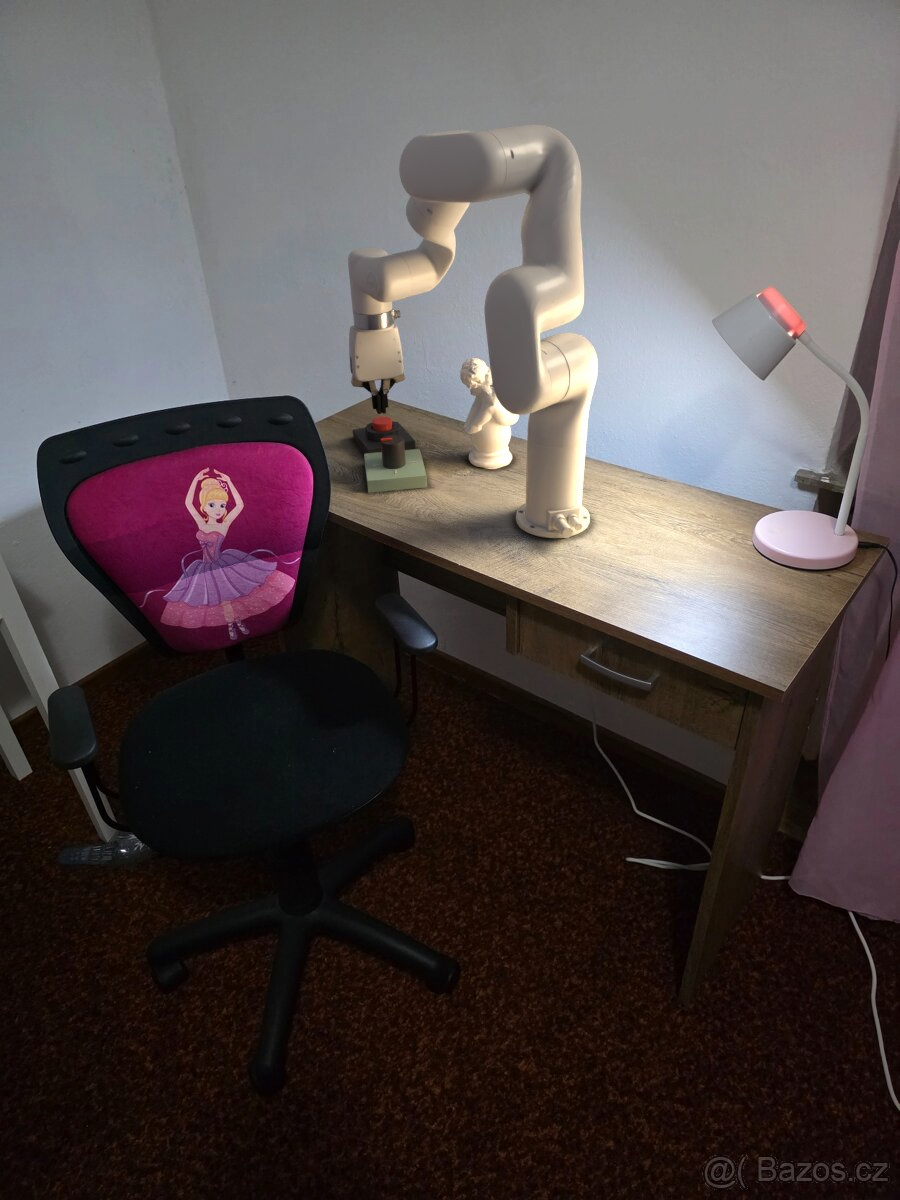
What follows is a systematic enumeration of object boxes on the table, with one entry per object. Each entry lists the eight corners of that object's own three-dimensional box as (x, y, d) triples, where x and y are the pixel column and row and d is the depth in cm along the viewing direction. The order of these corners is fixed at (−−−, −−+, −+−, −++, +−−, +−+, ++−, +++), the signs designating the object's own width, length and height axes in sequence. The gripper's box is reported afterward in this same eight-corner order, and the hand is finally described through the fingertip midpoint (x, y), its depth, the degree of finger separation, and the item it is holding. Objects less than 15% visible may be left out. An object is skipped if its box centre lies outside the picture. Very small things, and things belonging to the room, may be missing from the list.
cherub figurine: (457, 466, 157) (454, 354, 144) (473, 440, 166) (472, 334, 154) (518, 472, 154) (520, 359, 141) (531, 446, 163) (534, 337, 151)
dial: (404, 458, 154) (402, 432, 151) (406, 467, 151) (405, 441, 148) (381, 460, 154) (379, 434, 151) (383, 470, 150) (381, 443, 147)
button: (395, 430, 163) (394, 422, 162) (376, 433, 162) (375, 425, 161) (388, 423, 166) (388, 415, 165) (370, 426, 165) (369, 418, 164)
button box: (415, 450, 163) (414, 432, 161) (368, 459, 160) (367, 441, 158) (398, 431, 172) (396, 413, 169) (353, 439, 169) (351, 421, 166)
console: (427, 487, 150) (426, 474, 148) (368, 492, 149) (367, 480, 147) (420, 460, 159) (419, 448, 158) (365, 465, 158) (363, 452, 157)
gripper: (407, 310, 156) (412, 400, 167) (331, 318, 153) (341, 409, 163) (416, 320, 150) (421, 413, 161) (337, 329, 147) (347, 423, 157)
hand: (380, 411), depth 162 cm, fingers closed
